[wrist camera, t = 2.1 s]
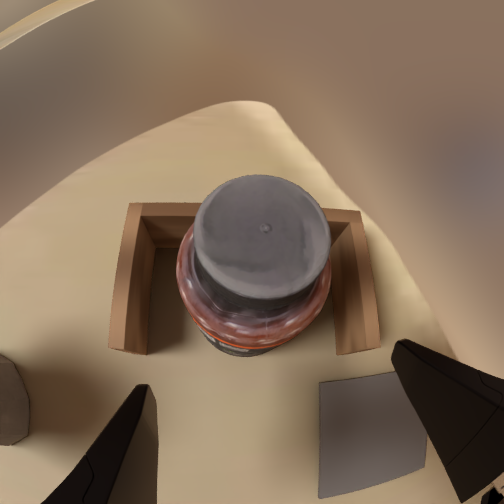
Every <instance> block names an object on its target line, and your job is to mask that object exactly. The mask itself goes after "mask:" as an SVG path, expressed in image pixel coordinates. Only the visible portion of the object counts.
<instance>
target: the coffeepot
mask: <svg viewBox="0 0 504 504" xmlns="http://www.w3.org/2000/svg"><path fill="white" fill-rule="evenodd" d="M29 421H30V408H29V398H28V395H27V392H26V389H25V387H24V384H23V381H22V379H21V377H20V375H19V373H18V372H17V370H16V369H15V366H14V364H13V362H11V361H9V360H8V359H6V358H5V357H4V356H2V355H0V445H4V446H10V445H11V444H13V443H15V442H17V441H20V440H21V439H22V438H24V437H26V436H27V435H28V428H29Z"/></svg>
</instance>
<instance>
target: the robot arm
mask: <svg viewBox="0 0 504 504" xmlns="http://www.w3.org/2000/svg"><path fill="white" fill-rule="evenodd" d="M391 361H392V364H393V366H394V368H395V371H396V373H397V375H398V377H399V380H400V382H401V384H402V387H403V389H404V391H405V393H406V395H407V397H408V399H409V400H410V402H411V404H412V406H413V408H414V409H415V411H416V413H417V415H418V417H419V419H420V421H421V422H422V424H423V426H424V428H425V430H426V432H427V434H428V436H429V438H430V439H431V441H432V443H433V445H434V447H435V449H436V451H437V453H438V455H439V457H440V459H441V461H442V463H443V465H444V467H445V470H446V472H447V474H448V476H449V478H450V480H451V483H452V485H453V487H454V489H455V491H456V494H457V496H458V498H459V500H460V502H461V503H463V502H465V501H466V500H468V499H469V498H471V497H472V496H474V495H475V494H477V493H478V492H479V491H481V490H482V489H483V488H485V487H486V486H487V485H489V484H490V483H492V485H493V487H492V488H491V489H490V490H489V491H488V492H486V493H485V494H484V495H483V496H482V500H481V504H504V379H501V378H498V377H495V376H492V375H489V374H487V373H484V372H482V371H480V370H477V369H475V368H473V367H470V366H468V365H466V364H463V363H461V362H459V361H456V360H454V359H452V358H449V357H447V356H445V355H442V354H440V353H438V352H436V351H433V350H431V349H429V348H426V347H424V346H422V345H420V344H417V343H415V342H413V341H410V340H408V339H402V340H399V341H397V342H396V343H395V346H394V350H393V353H392V356H391ZM158 445H159V441H158V425H157V405H156V400H155V397H154V395H153V392H152V390H151V388H150V386H149V385H148V384H139V385H136V386H135V388H134V389H133V390H132V392H131V393H130V394H129V396H128V397H127V398H126V400H125V401H124V402H123V404H122V405H121V406H120V408H119V409H118V410H117V412H116V413H115V414H114V416H113V417H112V418H111V420H110V421H109V422H108V424H107V425H106V426H105V428H104V429H103V430H102V432H101V433H100V435H99V436H98V437H97V439H96V440H95V441H94V443H93V444H92V445H91V447H90V448H89V449H88V451H87V452H86V455H84V456H83V457H82V459H81V460H80V462H79V463H78V464H77V465H76V467H75V468H74V469H73V470H72V472H71V473H70V474H69V475H68V476H67V477H66V478H65V480H64V481H63V482H62V483H61V484H60V485H59V486H58V487H57V488H56V489H55V490H54V491H53V492H52V493H51V494H50V495H49V496H48V497H47V498H46V499H45V500H44V501H43V502H42V503H41V504H157V469H158Z"/></svg>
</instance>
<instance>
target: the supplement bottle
mask: <svg viewBox="0 0 504 504" xmlns="http://www.w3.org/2000/svg"><path fill="white" fill-rule="evenodd" d="M330 249H331V233H330V227H329V224H328V221H327V218H326V216H325V214H324V212H323V210H322V209H321V207H320V206H319V204H318V203H317V202H316V200H315V199H314V198H313V197H312V196H311V195H310V194H309V193H308V192H306V191H305V190H304V189H302V188H301V187H300V186H298V185H296V184H294V183H292V182H290V181H288V180H285V179H283V178H280V177H274V176H269V175H247V176H242V177H239V178H235V179H232V180H229V181H227V182H225V183H223V184H222V185H220V186H219V187H217V188H216V189H215V190H214V191H213V192H212V193H211V194H209V195H208V196H207V197H206V199H205V200H204V201H203V203H202V204H201V206H200V208H199V210H198V212H197V214H196V217H195V221H194V223H193V224H192V225H191V227H190V228H189V230H188V231H187V233H186V234H185V236H184V239H183V241H182V242H181V245H180V249H179V252H178V256H177V263H176V278H177V284H178V288H179V292H180V295H181V297H182V300H183V302H184V304H185V306H186V308H187V310H188V312H189V313H190V315H191V316H192V318H193V320H194V321H195V323H196V324H197V325H198V327H199V329H200V330H201V332H202V333H203V334H204V336H205V337H206V339H207V340H208V341H209V342H210V343H211V344H212V345H214V346H215V347H216V348H217V349H219V350H221V351H223V352H225V353H227V354H230V355H233V356H240V357H252V356H257V355H260V354H263V353H265V352H267V351H269V350H271V349H273V348H275V347H277V346H279V345H281V344H283V343H285V342H287V341H288V340H290V339H292V338H293V337H295V336H297V335H298V334H299V333H300V332H301V331H303V330H304V329H305V328H306V327H307V326H308V325H309V324H311V322H312V321H313V320H314V319H315V318H316V316H317V315H318V314H319V313H320V311H321V309H322V307H323V305H324V303H325V301H326V299H327V296H328V293H329V289H330V283H331V261H330V256H329V254H330Z"/></svg>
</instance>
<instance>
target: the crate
mask: <svg viewBox="0 0 504 504" xmlns="http://www.w3.org/2000/svg"><path fill="white" fill-rule="evenodd" d="M201 204H202V203H129V207H128V211H127V216H126V221H125V225H124V230H123V235H122V241H121V246H120V252H119V257H118V263H117V270H116V276H115V284H114V291H113V299H112V308H111V318H110V329H109V343H108V348H112V349H116V350H120V351H124V352H128V353H132V354H140V355H147V340H148V323H149V309H150V297H151V286H152V276H153V267H154V259H155V251H156V248H180V245H181V242H182V241H183V239H184V236H185V234H186V233H187V231H188V230H189V228H190V227H191V225H192V224H193V223H194V221H195V217H196V214H197V212H198V210H199V208H200V206H201ZM321 209H322V210H323V212H324V214H325V216H326V218H327V221H328V224H329V227H330V233H331V249H330V254H329V256H330V261H331V289H332V299H333V311H334V323H335V337H336V353H337V355H344V354H351V353H356V352H361V351H366V350H370V349H375V348H379V347H381V345H380V333H379V323H378V314H377V306H376V298H375V291H374V284H373V277H372V271H371V264H370V259H369V253H368V247H367V242H366V237H365V232H364V227H363V222H362V218H361V213H360V211H354V210H341V209H328V208H321Z"/></svg>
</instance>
